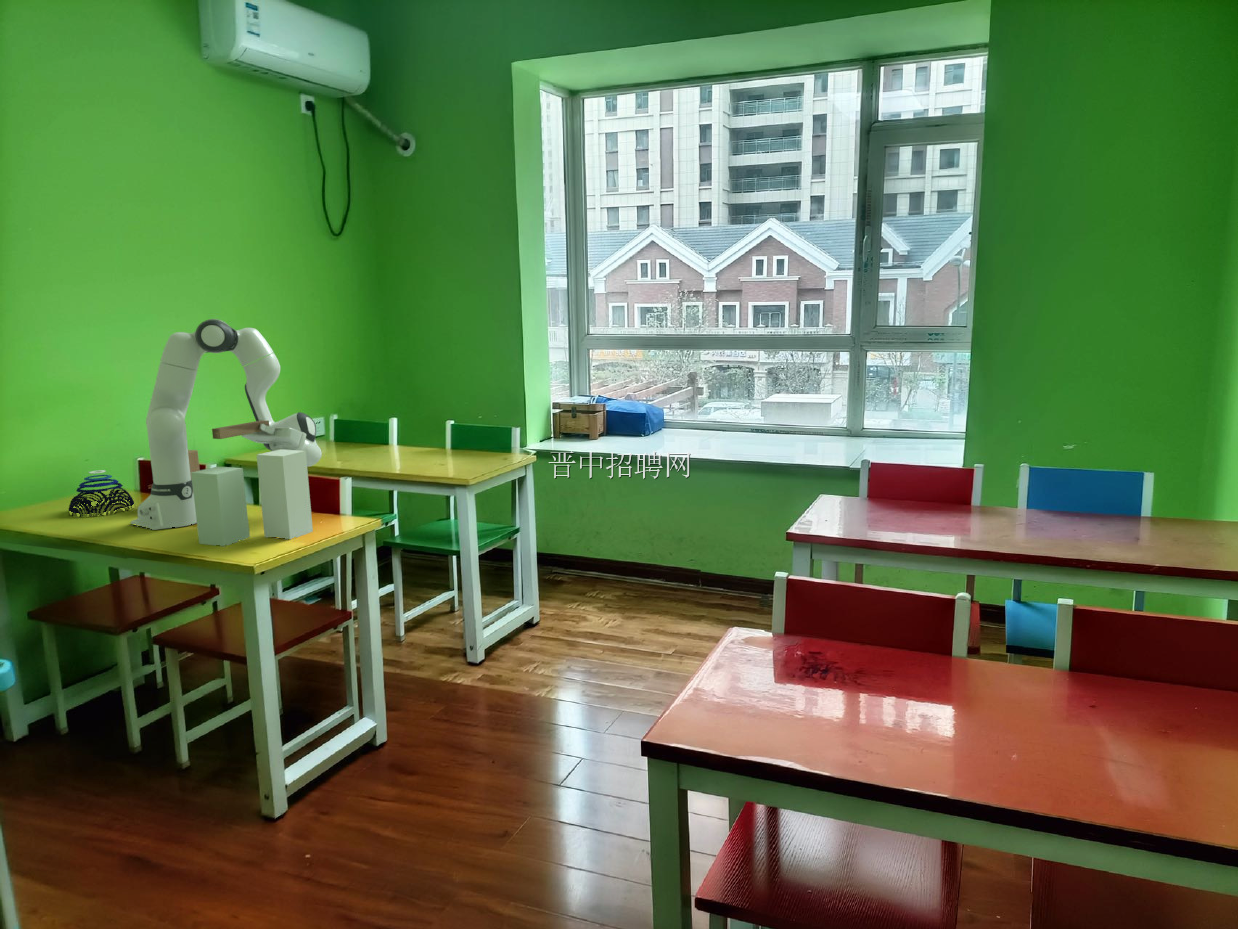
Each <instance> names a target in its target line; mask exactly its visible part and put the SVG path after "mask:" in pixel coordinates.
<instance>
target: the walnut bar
mask: <svg viewBox="0 0 1238 929" xmlns="http://www.w3.org/2000/svg"><path fill="white" fill-rule="evenodd" d="M259 424H264V425H266V426H269V421H265V420H261V421H256V420H255V421H250V422H244V423H239V424H232V425H227V426H222V427H221V426H220V427H215V428H212V429H211V431H212V432H211V434H212V439H213V440H223V439H227V438H228V439H229V438H234V437H239V436H241V435H245V434H250V433H256V432H261V430H259V429H258V425H259Z"/></svg>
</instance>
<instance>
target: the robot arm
mask: <svg viewBox="0 0 1238 929" xmlns="http://www.w3.org/2000/svg"><path fill="white" fill-rule="evenodd" d="M225 352H231V353H232V354H233V355H234V356H235V357H236V358H237V359H238V361H239V363H240V365H241V367H242V369H243V370H244V373H245V377H246V383H245V384H244V392H245V396H246V397H247V398H246V399H247V401H248V404H249V407H250V409H251V411H252V414H253V416H254V419H255V421H261V420H265V421H269V426H266V425H264V424H259V425H258V429H259V430H261V432H256V433H250V434H245V435H240V436H241V437H242V438H245V439H246V440H248V441H251V442H254V443H257V444H263V446H264V447H265V449H267V450H269V451H270V452H271V451H276V450H280V449H281V450H300V451H306V460H307V467H312V466H315V465H316V464H317V463H318V462H319V461H320V460H321V458H322V455H323V453H322V449H321V447H320V446H319V445H318V442H317V441H316V436H317V425H316V423H315V420H313V418H311V416H309V415H308V414H307V413H304V412H301V411H299V412H296V413H294V414H291V415H288V416H287V417H285V418H283V419H280V420H278V421H274V419H273V418H272V414H271V412H270V409H269V406H268V404H267V401H266V396H267V392H268V391H269V390H270V388H272V386H273V385H274V384H275V383H276V382H277V380H278V378H279V377H280V373H281V365H280V362H279V359H278V357H277V356H276V353H275V352H274V350H273V349H272V347H271V346H270V344H269V342H268V341H267V340H266V338H265V337H264V336H263V335H262V334H261V332H260V331H259V330H258V329H256V328H253V327H244V328H241V329H238V330H236V329H235V328H233V327H232V326H230V325H229V324H228V323H227V322H225V321H224V320H221V319H219V318H218V319H217V318H211V319H207V320H204V321H202V322H201V323H200V324H198V325H197V327H196V329H195V331H194V332H184V331H183V332H182V331H178V332H177V331H176V332H174V333H171V335H169V337H168V339H167V341H166V344H165V346H164V348H163V352H162V354H161V358H160V361H159V365H158V366H159V367H158V370H157V374H156V378H155V379H156V380H155V382H154V387H153V390H152V395H151V398H150V402H149V407H148V410H147V414H146V417H145V418H146V419H145V423H146V424H145V425H146V430H147V431H146V432H147V439H148V440H147V441H148V447H149V448H148V449H149V455H150V465H151V473H152V481H153V483H152V484H149V485H147V487H148V489H151V490H150V495H149V496H148V497H147V498H146V499H144V501H142V502H141V503H140V504H139V505H138V507H137V518H135V519H133V520H131V521H130V523H131V524H136V525H139V526H142V527H147V528H150V529H149V530H151V529H152V530H151V531H153V530H155V531H157V530H162V529H171V528H172V527H175V528H180V527H181V528H182V527H187V526H191V524H192V525H195V524H197V520H196V511H195V502H194V494H193V485H192V479H191V474H190V466H189V457H188V450H189V447H188V434H187V426H186V415H187V411H188V408H189V405H190V401H191V398H192V395H193V392H194V391H193V390H194V387H195V383H196V378H197V374H198V369H199V366H200V362H201V359H202V356H203V355H204V354H205V353H206V354H207V353H212V354H222V353H225ZM130 523H129V524H130ZM142 527H141V528H142ZM147 528H146V529H147Z"/></svg>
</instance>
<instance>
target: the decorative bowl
mask: <svg viewBox="0 0 1238 929" xmlns="http://www.w3.org/2000/svg"><path fill="white" fill-rule="evenodd" d="M105 472H107V471H106V470H104V469H102V470H101V469H100V470H92V471H88V474H94V475H90V476H87V477H84V479H83V480H84V481H83V482H81V483H79V485H78V487H77V488H76V492H77V493H78V494H77V495H75V496H73V498H71V500H70V503H69V505H68V506H69V507H68V512H69V511H71V512H73V513H74V514H75V513H79V514H81V515H82V514H84V515H85V514H90V515H91V513H97V514H99V513H101V514H102V512H106V511H107V512H108V511H110V512H111V511H112V512H113V511H115V510H117V509H118V510H121V509H120V508H125V507H128V506H132V505H133V504H134V503H135V501H134V500H133V497H132V496H131V494H130V493H129V492H128V491H127V490H126V489H125V488H124V487H123V486H124V485H123V484H122V483H121V482H119V481H118V480H117V479H115V478H112V477H113V476H112V475H110V474H102V473H105ZM98 482H99V483H98ZM90 483H91V484H90ZM92 483H93V484H92ZM108 486H111V487H108ZM100 487H106V488H100ZM85 488H93V489H85ZM94 488H97V489H94ZM107 491H109V493H108V494H105V493H104V492H107ZM103 500H104V502H103V503H102V501H103ZM125 500H127V502H126V501H125ZM129 500H130V501H129ZM95 501H97V502H98V503H99V504H98V503H97V504H96V503H95V505H96V506H94V507H93V506H92V505H91V502H95ZM107 501H109V502H108V504H107ZM117 501H118V503H116V502H117ZM121 501H122V502H123V503H121ZM84 503H85V504H84ZM100 503H101V504H100ZM105 503H106V505H104V504H105ZM112 503H115V504H113V505H111V504H112ZM124 503H126V505H125V504H124ZM81 504H82V505H83V506H82V505H81ZM87 504H88V505H87ZM129 504H130V505H129ZM78 505H79V506H81V507H82V508H83V509H81V508H79V506H78ZM99 505H100V506H99ZM118 505H120V506H118ZM121 505H122V506H121ZM74 506H75V507H76V508H73V507H74ZM91 506H92V507H91ZM104 506H105V507H104ZM115 506H116V507H115ZM88 507H89V508H88ZM78 508H79V510H78ZM112 509H113V510H112ZM118 510H117V511H118Z"/></svg>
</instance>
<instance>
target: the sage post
mask: <svg viewBox="0 0 1238 929" xmlns="http://www.w3.org/2000/svg"><path fill="white" fill-rule="evenodd" d="M191 476H192V485H193V494H194V502H195V511H196V520H197V523H196V526H197V527H196V529H197V535H198V536H197V537H198V544H200V545H208V546H209V545H210V546H216V545H220V546H219V547H226V546H225V545H227V546H229V545H233V544H236V543H239V542H240V541H239V540H242V541H245V540H247V539H246V538H248V537H250V538H251V536H250V527H249V526H250V525H249V519H248V518H249V515H248V508H247V506H248V505H247V498H246V497H247V496H246V489H245V487H246V486H245V479H244V478H245V477H244V468H243V467H233V466H232V467H231V466H228V467H227V466H214V467H210V468H204V469H200V471H196V472H191ZM244 539H245V540H244ZM248 539H249V538H248ZM238 541H239V542H238ZM232 543H233V544H232Z"/></svg>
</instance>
